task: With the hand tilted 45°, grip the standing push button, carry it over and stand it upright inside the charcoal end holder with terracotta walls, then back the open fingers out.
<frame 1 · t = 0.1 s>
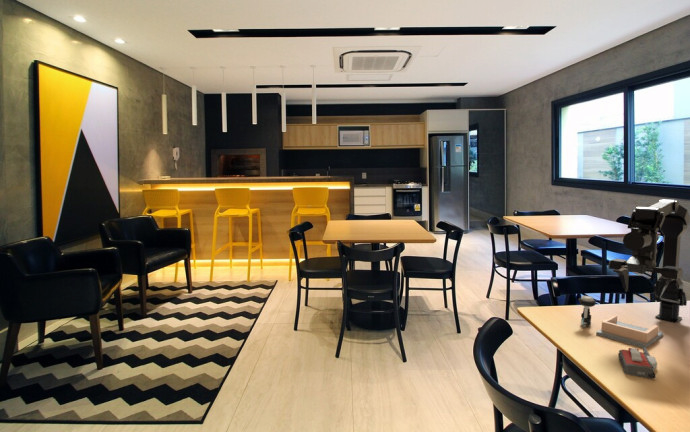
hand: (642, 294, 137), 15 cm above the table, tool pointing down, fingers open, 9 cm apart
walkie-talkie: (637, 365, 121), on the table
end holder: (629, 335, 141), on the table
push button: (585, 325, 150), on the table
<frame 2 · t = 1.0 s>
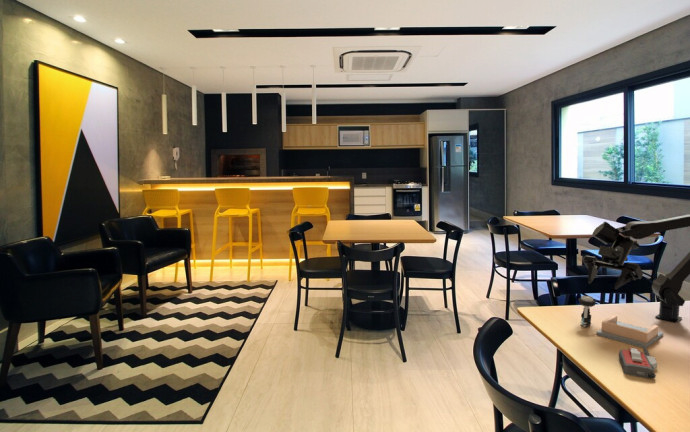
hand: (601, 285, 152), 13 cm above the table, tool tilted 45°, fingers open, 9 cm apart
nothing on the table moved.
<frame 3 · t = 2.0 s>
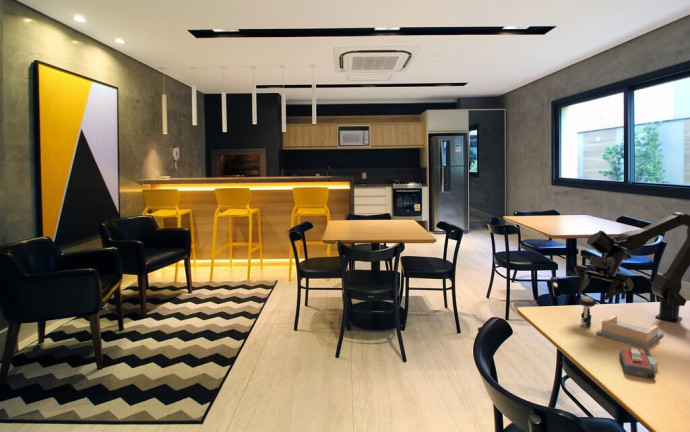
hand: (591, 295, 150), 10 cm above the table, tool tilted 45°, fingers open, 9 cm apart
nothing on the table moved.
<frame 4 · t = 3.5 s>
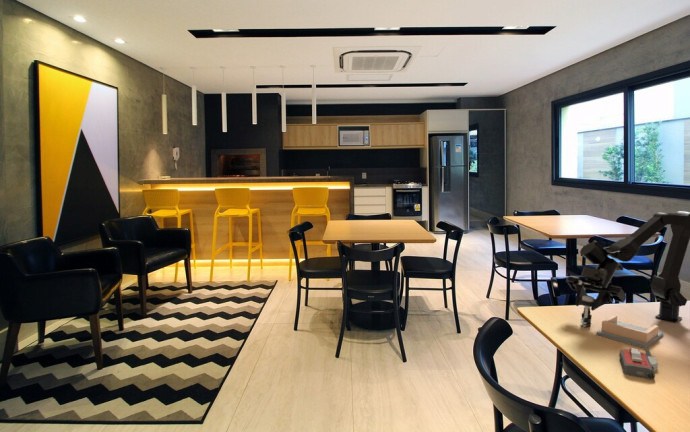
hand: (584, 307, 148), 7 cm above the table, tool tilted 45°, fingers closed on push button, 5 cm apart
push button: (585, 325, 150), on the table, touching gripper
everything else where it was.
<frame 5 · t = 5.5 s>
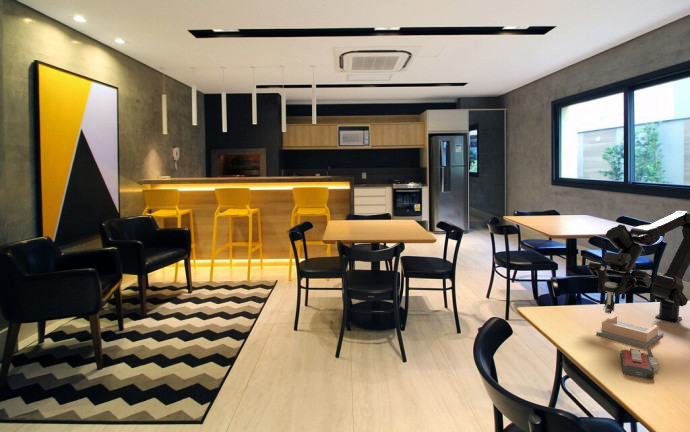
hand: (607, 293, 143), 13 cm above the table, tool tilted 45°, fingers closed on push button, 5 cm apart
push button: (608, 312, 145), point 6 cm above the table, touching gripper
everything else where it was.
when the fingers open (9 cm above the table, at t = 7.4 s): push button drops 1 cm, resting on end holder.
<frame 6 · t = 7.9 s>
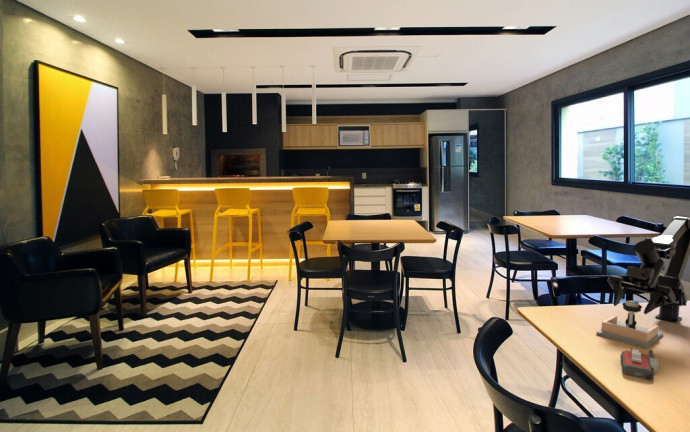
hand: (629, 309, 139), 9 cm above the table, tool tilted 45°, fingers open, 9 cm apart
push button: (630, 332, 141), point 1 cm above the table, touching end holder
everything else where it was.
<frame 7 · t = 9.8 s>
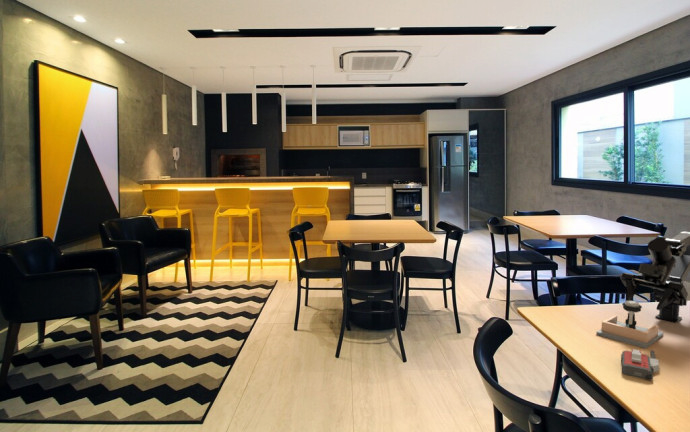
hand: (642, 305, 143), 9 cm above the table, tool tilted 45°, fingers open, 9 cm apart
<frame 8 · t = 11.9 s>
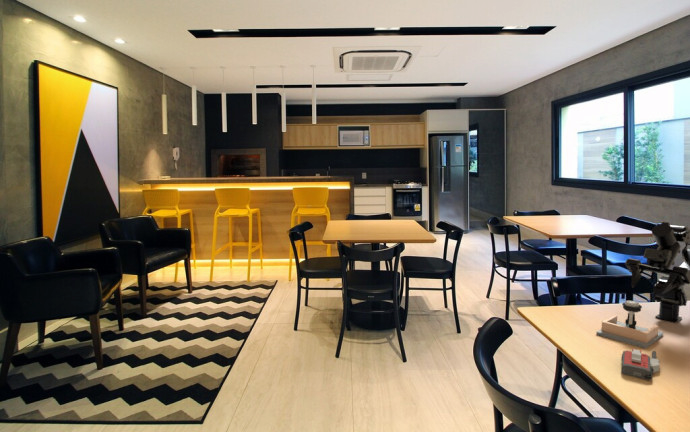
hand: (646, 289, 145), 14 cm above the table, tool tilted 45°, fingers open, 9 cm apart
at the end: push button 0.3 cm off-centre on the end holder, point 0.8 cm above the end holder's base; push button tilted 0°; the gripper is holding nothing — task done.
